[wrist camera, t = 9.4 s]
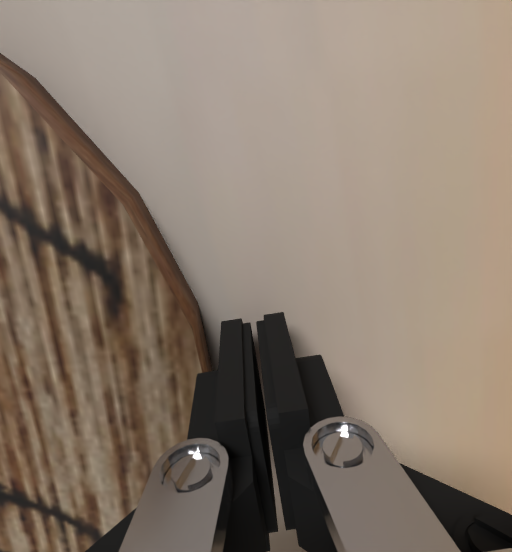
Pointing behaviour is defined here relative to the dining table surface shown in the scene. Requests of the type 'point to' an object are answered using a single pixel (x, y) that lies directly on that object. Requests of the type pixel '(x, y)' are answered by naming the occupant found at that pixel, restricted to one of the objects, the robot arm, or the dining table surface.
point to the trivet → (81, 331)
